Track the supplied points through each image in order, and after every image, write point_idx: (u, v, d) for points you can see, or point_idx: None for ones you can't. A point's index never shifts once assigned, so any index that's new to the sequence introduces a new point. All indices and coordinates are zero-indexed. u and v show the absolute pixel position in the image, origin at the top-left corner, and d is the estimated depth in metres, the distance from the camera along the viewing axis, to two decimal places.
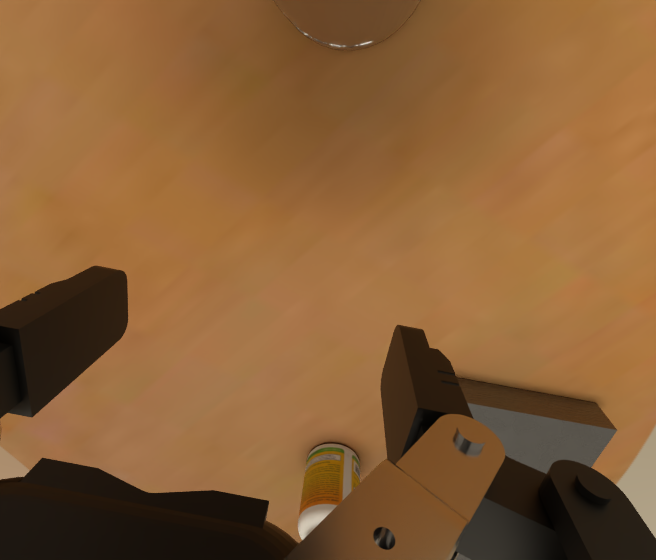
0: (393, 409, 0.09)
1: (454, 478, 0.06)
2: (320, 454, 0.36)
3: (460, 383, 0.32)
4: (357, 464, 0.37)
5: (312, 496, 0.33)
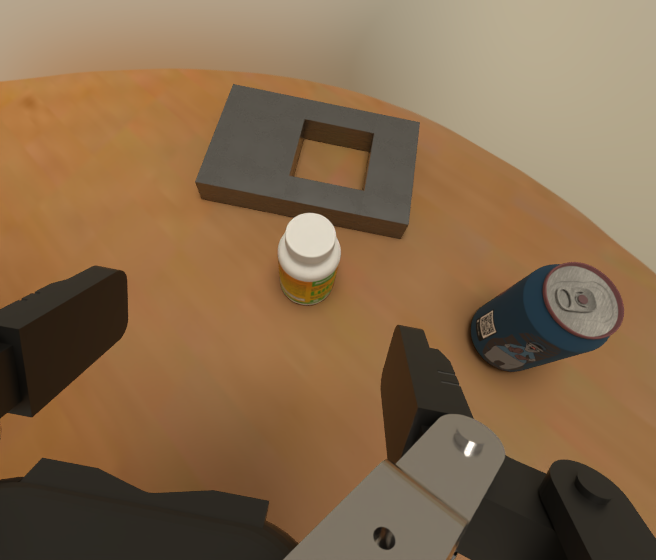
0: (393, 409, 0.09)
1: (453, 478, 0.06)
2: (281, 286, 0.36)
3: None
4: None
5: (282, 272, 0.32)
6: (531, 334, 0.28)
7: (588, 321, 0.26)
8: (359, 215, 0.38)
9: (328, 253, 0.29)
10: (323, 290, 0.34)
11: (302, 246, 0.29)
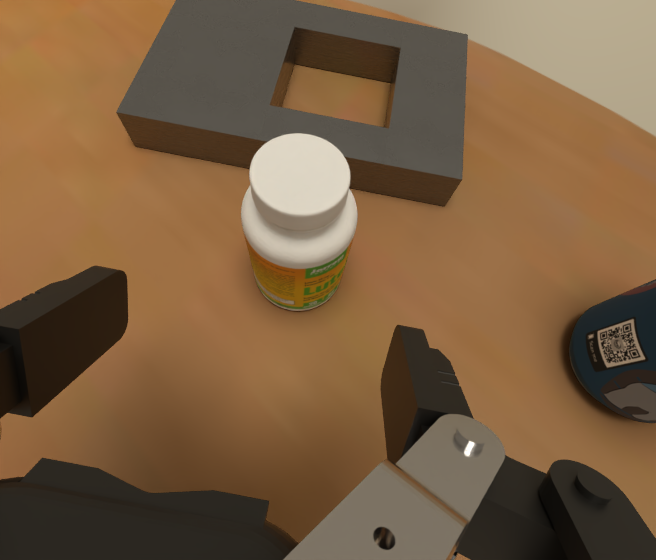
0: (393, 409, 0.09)
1: (454, 479, 0.06)
2: (256, 279, 0.22)
3: None
4: None
5: (251, 252, 0.18)
6: None
7: None
8: (382, 165, 0.24)
9: (336, 209, 0.15)
10: (325, 285, 0.20)
11: (283, 194, 0.14)
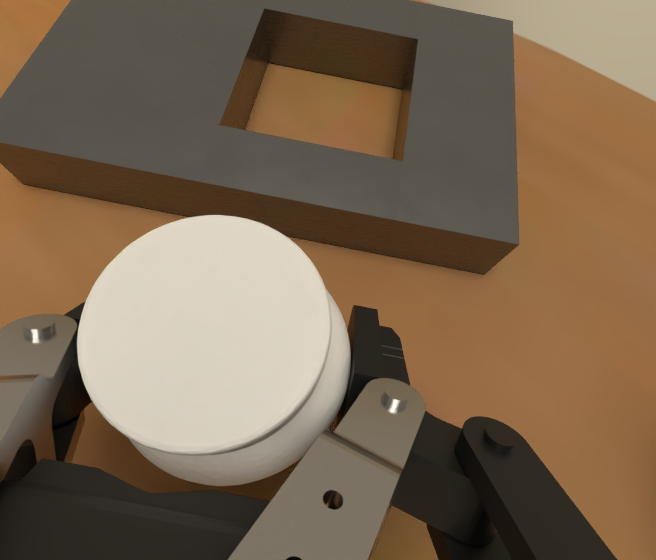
0: None
1: (385, 435, 0.06)
2: None
3: None
4: None
5: None
6: None
7: None
8: (393, 221, 0.15)
9: (295, 412, 0.06)
10: None
11: (156, 390, 0.06)
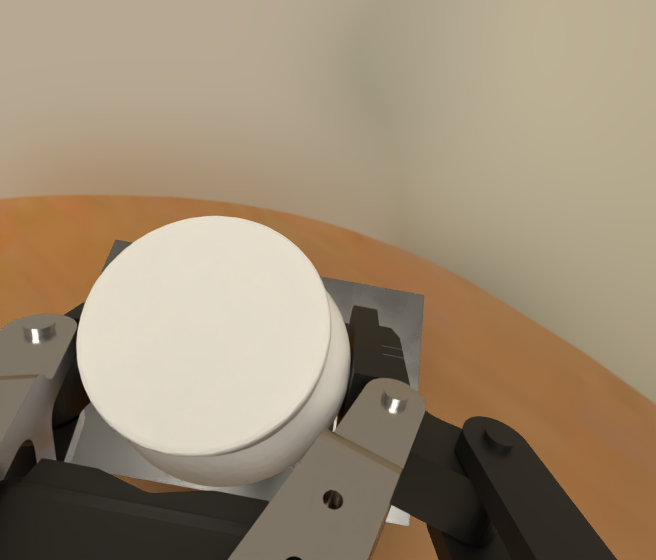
0: None
1: (385, 435, 0.06)
2: None
3: None
4: None
5: None
6: None
7: None
8: None
9: (295, 413, 0.06)
10: None
11: (156, 391, 0.06)
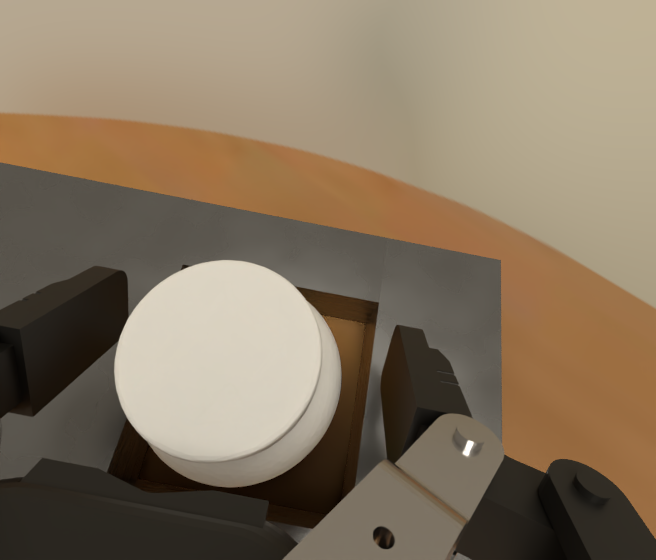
0: (393, 409, 0.09)
1: (453, 479, 0.06)
2: None
3: None
4: None
5: None
6: None
7: None
8: None
9: (292, 427, 0.07)
10: None
11: (179, 410, 0.07)
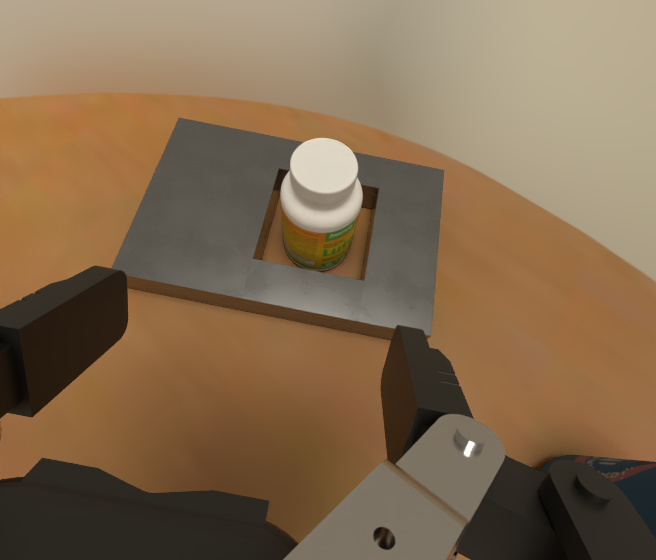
0: (393, 409, 0.09)
1: (453, 479, 0.06)
2: (285, 246, 0.29)
3: None
4: None
5: (286, 222, 0.25)
6: None
7: None
8: (357, 321, 0.25)
9: (348, 190, 0.22)
10: (339, 249, 0.27)
11: (313, 179, 0.21)
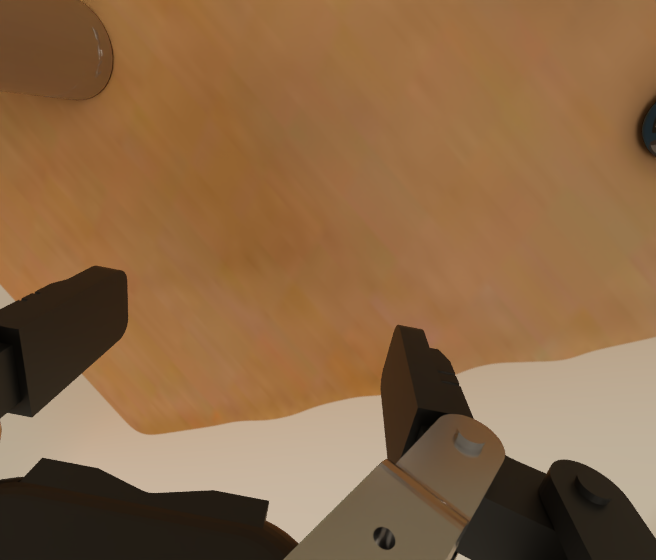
0: (393, 409, 0.09)
1: (454, 479, 0.06)
2: None
3: None
4: None
5: None
6: None
7: None
8: None
9: None
10: None
11: None
